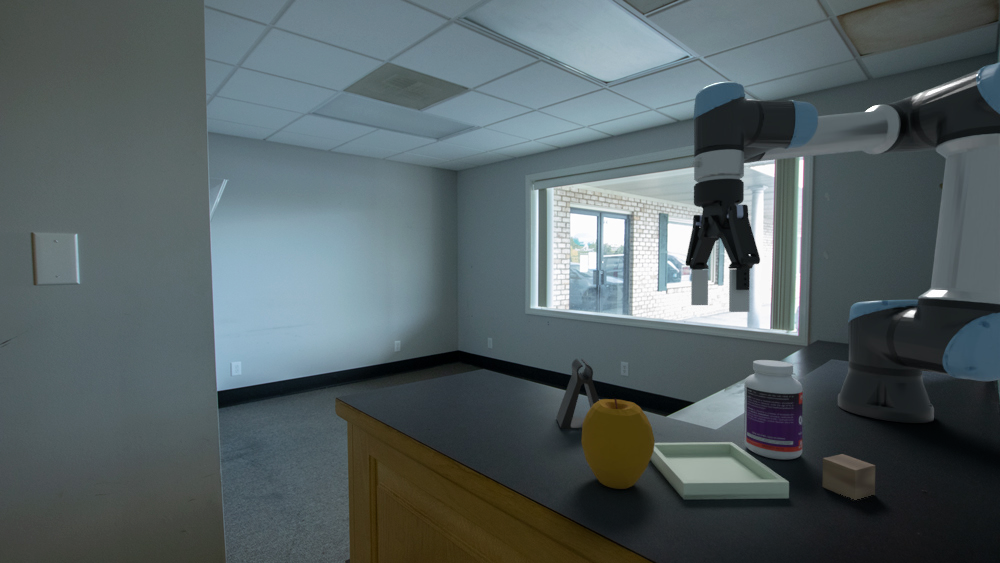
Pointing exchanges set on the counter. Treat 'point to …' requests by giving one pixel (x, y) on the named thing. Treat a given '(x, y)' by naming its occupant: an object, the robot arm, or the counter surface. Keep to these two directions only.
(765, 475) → the tray
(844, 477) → the walnut block
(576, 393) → the phone stand
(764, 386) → the pill bottle
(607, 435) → the apple
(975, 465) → the counter surface
